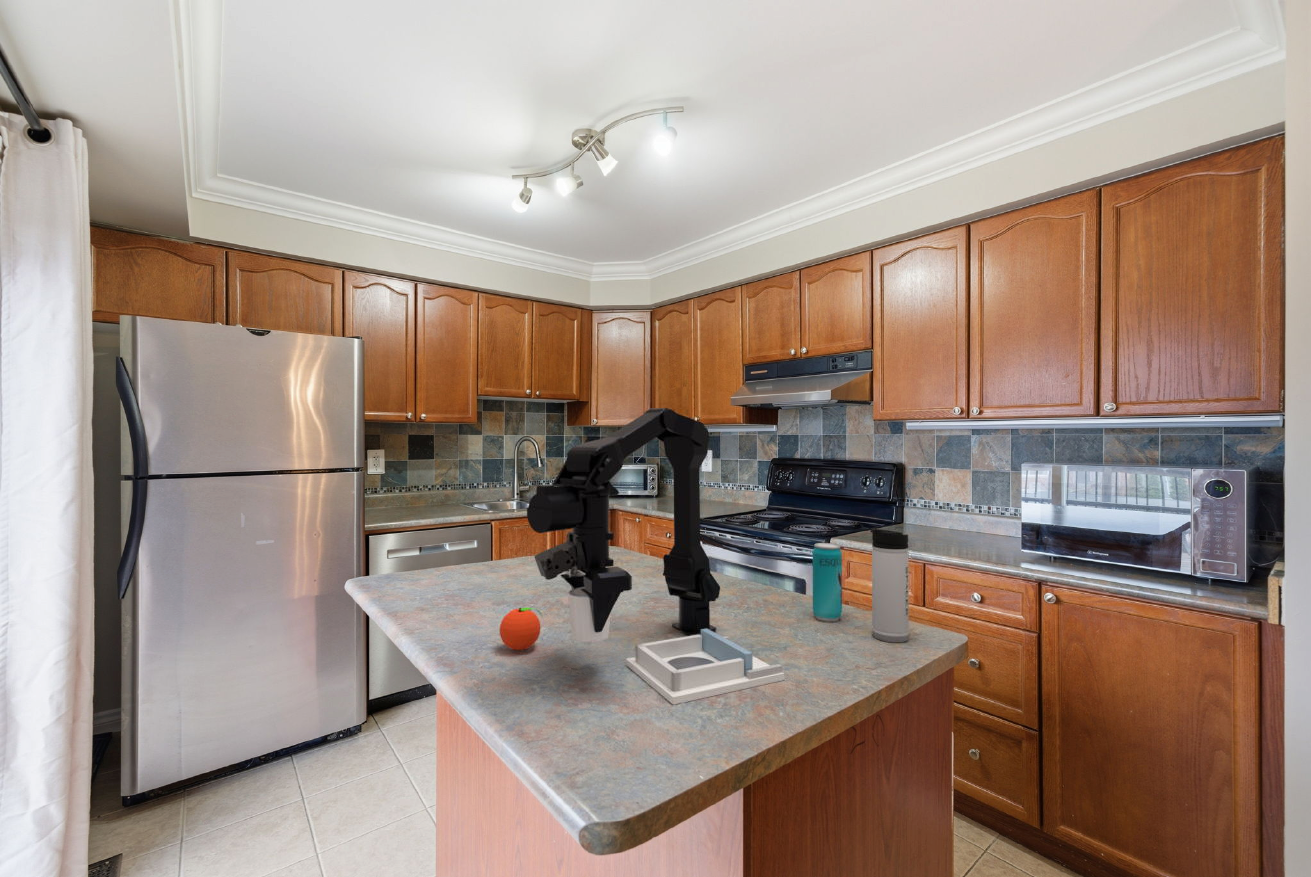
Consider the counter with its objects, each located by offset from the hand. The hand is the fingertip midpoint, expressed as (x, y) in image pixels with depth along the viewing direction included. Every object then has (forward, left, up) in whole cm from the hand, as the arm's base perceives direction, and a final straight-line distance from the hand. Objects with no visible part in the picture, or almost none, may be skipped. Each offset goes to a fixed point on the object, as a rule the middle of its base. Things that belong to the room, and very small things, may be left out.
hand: (590, 625), depth 91 cm
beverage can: (-5, +53, -7) cm, 54 cm away
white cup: (0, 0, -2) cm, 2 cm away
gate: (+8, +20, -6) cm, 22 cm away
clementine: (-15, -7, -7) cm, 18 cm away
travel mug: (+9, +55, -7) cm, 56 cm away
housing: (+8, +15, -7) cm, 19 cm away
